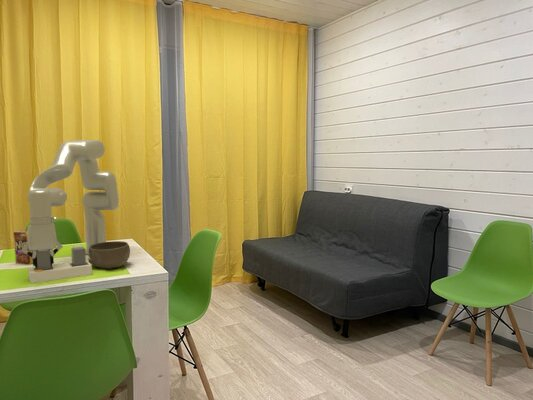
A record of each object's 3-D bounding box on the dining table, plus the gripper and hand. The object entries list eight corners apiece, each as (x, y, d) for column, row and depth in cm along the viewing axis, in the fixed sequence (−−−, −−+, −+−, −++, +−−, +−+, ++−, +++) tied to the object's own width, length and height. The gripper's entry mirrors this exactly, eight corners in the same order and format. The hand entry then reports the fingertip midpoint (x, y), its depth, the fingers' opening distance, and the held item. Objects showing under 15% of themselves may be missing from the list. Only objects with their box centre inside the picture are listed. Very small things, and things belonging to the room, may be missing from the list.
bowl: (86, 272, 174) (85, 249, 173) (92, 262, 191) (91, 241, 190) (129, 270, 178) (128, 247, 177) (131, 260, 195) (130, 239, 194)
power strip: (87, 270, 177) (86, 243, 176) (92, 275, 169) (90, 247, 168) (28, 278, 165) (27, 249, 164) (30, 284, 157) (29, 254, 155)
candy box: (14, 264, 187) (12, 231, 185) (22, 262, 191) (21, 230, 190) (29, 266, 184) (28, 232, 183) (37, 264, 188) (36, 231, 187)
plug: (49, 270, 166) (48, 246, 165) (50, 272, 163) (49, 248, 162) (36, 271, 164) (35, 247, 163) (38, 274, 160) (36, 249, 159)
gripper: (63, 218, 169) (65, 261, 171) (15, 221, 160) (18, 267, 161) (66, 220, 163) (68, 265, 165) (16, 224, 153) (19, 271, 155)
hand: (43, 266), depth 163 cm, fingers closed on plug, 4 cm apart
